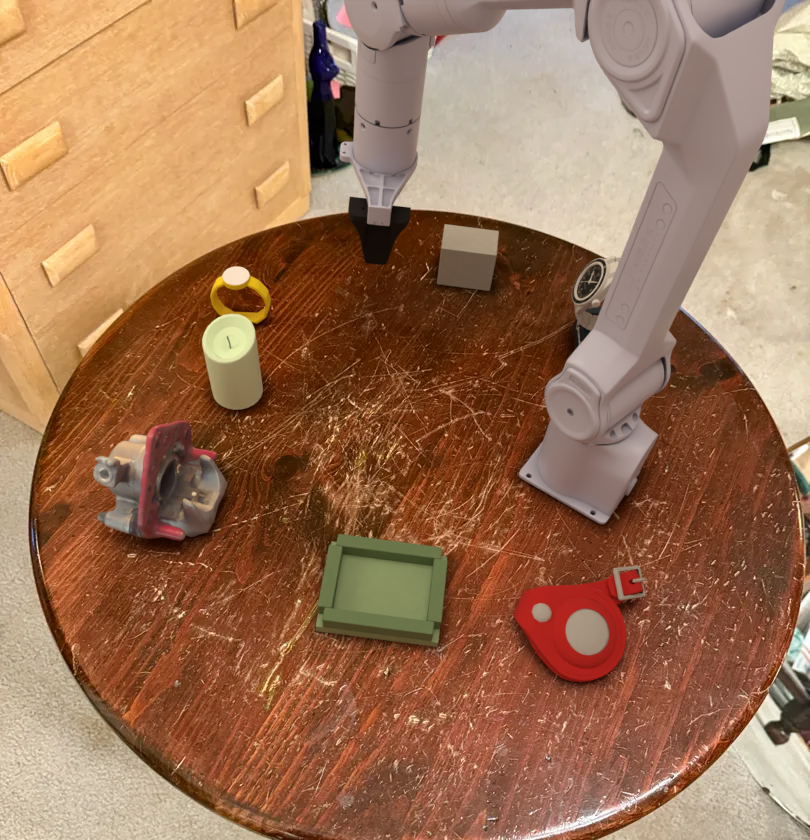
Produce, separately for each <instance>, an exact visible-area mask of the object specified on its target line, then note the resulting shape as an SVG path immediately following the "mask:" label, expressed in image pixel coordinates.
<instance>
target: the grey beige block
mask: <svg viewBox="0 0 810 840" xmlns="http://www.w3.org/2000/svg"><path fill="white" fill-rule="evenodd" d="M499 235H500V231H499V230H494V229H487V228H486V229H485V228H479V227H471V226H470V227H469V226H462V225H456V224H446V223H444V225H443V232H442V240H441V247H440V255H439V263H438V272H437V279H436V285H440V286H447V287H454V288H455V287H456V288H463V289H471V290H479V291H480V290H481V291H486V292H490V291H491V288H492V282H493V277H494V272H495V267H496V261H497V257H498V256H497V255H498V245H499Z"/></svg>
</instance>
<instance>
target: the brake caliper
mask: <svg viewBox="0 0 810 840" xmlns="http://www.w3.org/2000/svg"><path fill="white" fill-rule="evenodd" d="M218 456H219V455H218V452H216V451H213V450H208V449H204V448H203V449H202V448H197V447H195V446H194V444H193V441H192V428H191V424H190V423H189V422H188V421H187V420H182V419H181V420H180V419H179V420H175V421H173V422H168V423H161V424H157V425H155V426H153V427H151V428H150V430H149V431H148V433H147V434H146V435H145V434H139V433H136V434H135V433H134V434H132V435H131V436H130V438H129V440H121V441H120V442H118V443H117V444H116V445H115V446H114V447H113V449H112V450H111V451H110V454H109V456H105V455H99V456H96V457H95V458H94V460H95V461H96V465H95V466H94V468H93V473H92V475H93V478H94V480H95V481H96V482H97V483H98V484H100V485H102V486H103V487H106V488H108V489H109V491H110V492H111V493H112V494H114V496H115V506H114V507H115V508H114V509H112V510H109V511H100V512H99V513H98V514H97V516H96V517H97V520H98V521H99V522H100V523H102V524H103V525H105V526H106V527H108V528H109V529H112V530H115V531H119V532H121V533H124V534H128V535H132V536H135V537H140V538H143V539H150V540H151V539H158V538H165V539H170V540H174V541H183V540H184V539H186V537H189V538H194V537H197V536H200V535H203V534H206V533H208V532H209V531H210V530H211V529H212V526H213V524H214V521H215V519H216V516H217V513H218V508H219V505H220V503H221V501H222V499H223V497H224V495H225V493H226V491H227V488H228V482H227V480H226V478H225V476H224V475H223V473H222V471H221V470H220V469H219V467H218V466H217V464H216V461H217V460H218V458H219V457H218Z"/></svg>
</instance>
